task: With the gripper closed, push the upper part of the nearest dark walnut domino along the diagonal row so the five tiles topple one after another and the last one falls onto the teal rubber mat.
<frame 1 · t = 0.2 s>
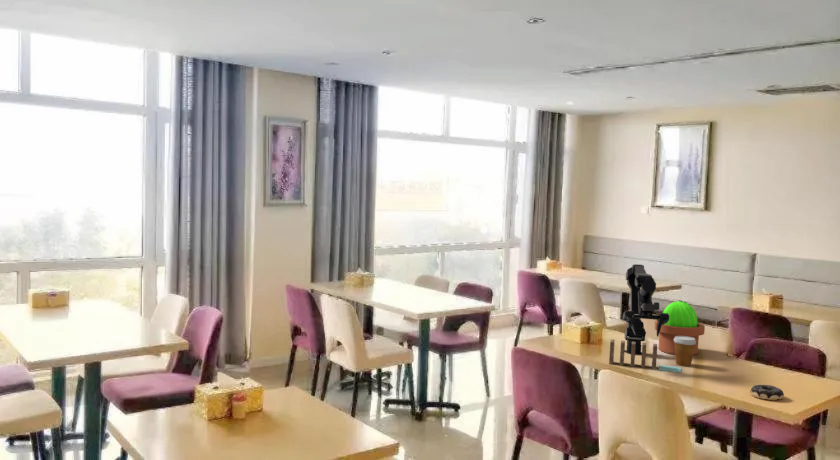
hand: (646, 335, 302), 15 cm above the table, tool tilted 30°, fingers open, 9 cm apart
domino 3: (632, 365, 310), on the table
disposable coffee cup: (683, 364, 314), on the table
domino 1: (611, 363, 313), on the table
donut: (766, 397, 269), on the table
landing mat: (669, 369, 305), on the table
domino 4: (643, 366, 309), on the table
potted cactus: (677, 351, 340), on the table
domino 2: (621, 364, 311), on the table
domino 5: (653, 367, 307), on the table
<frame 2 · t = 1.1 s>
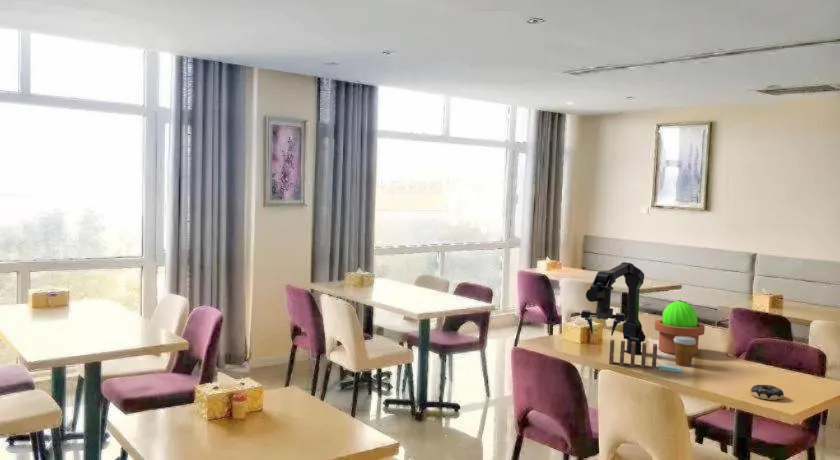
hand: (601, 334, 313), 12 cm above the table, tool pointing down, fingers open, 8 cm apart
nothing on the table moved.
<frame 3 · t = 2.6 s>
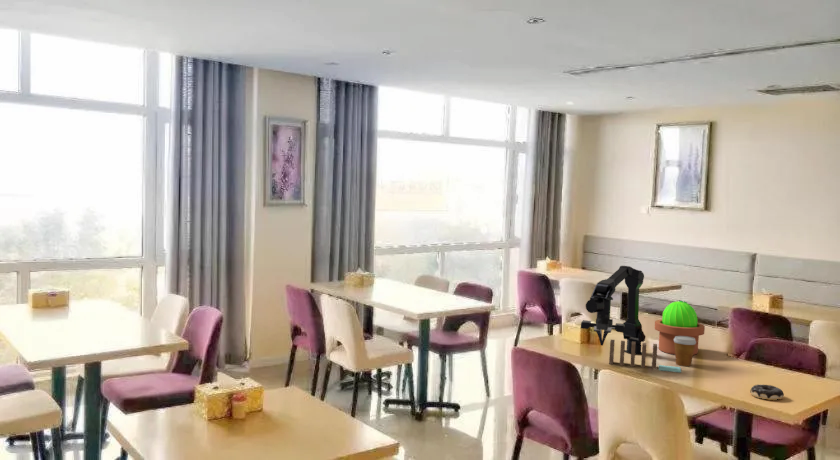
hand: (601, 345, 314), 7 cm above the table, tool pointing down, fingers closed
nothing on the table moved.
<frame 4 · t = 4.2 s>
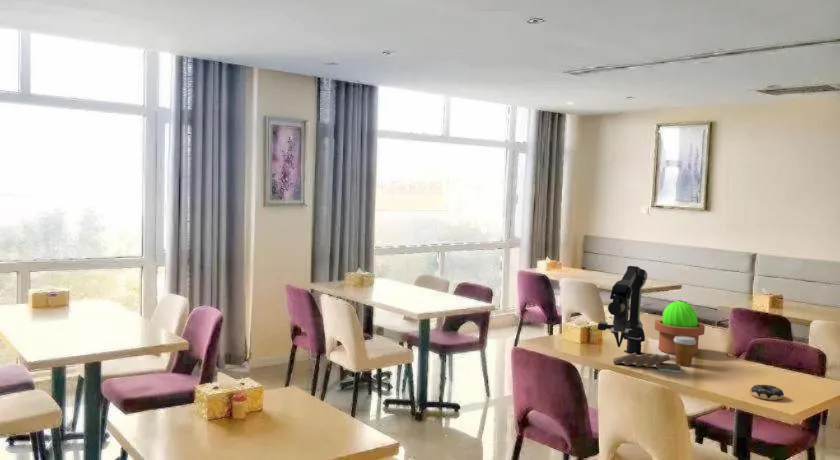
hand: (618, 346, 311), 7 cm above the table, tool pointing down, fingers closed
domino 3: (636, 363, 309), point 1 cm above the table, tilted 64°, touching domino 2, domino 4
domino 1: (614, 361, 312), point 1 cm above the table, tilted 68°, touching domino 2
domino 4: (646, 364, 308), point 1 cm above the table, tilted 64°, touching domino 3, domino 5
domino 2: (624, 362, 311), point 1 cm above the table, tilted 67°, touching domino 1, domino 3
domino 5: (655, 365, 307), point 1 cm above the table, tilted 90°, touching domino 4, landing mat
everything else where it was.
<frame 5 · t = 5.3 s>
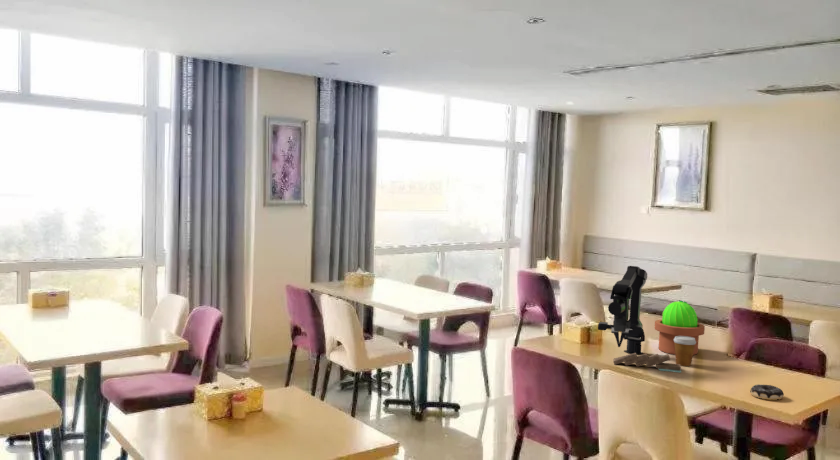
hand: (619, 346, 311), 8 cm above the table, tool pointing down, fingers closed
nothing on the table moved.
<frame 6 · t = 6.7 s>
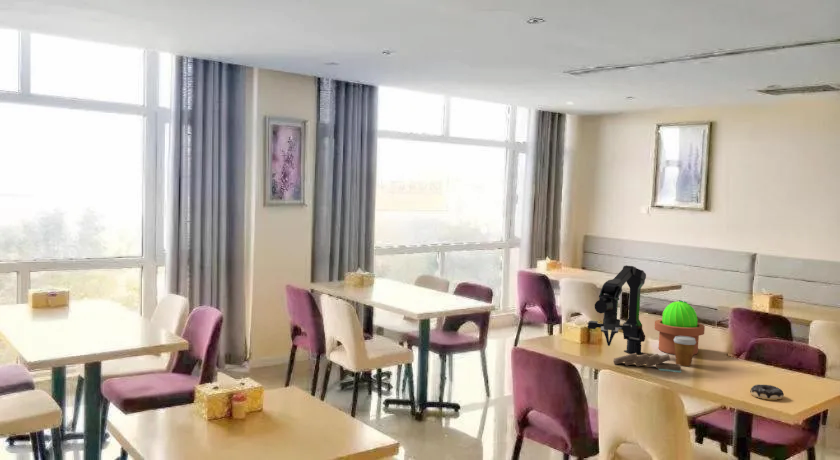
hand: (608, 345, 312), 8 cm above the table, tool pointing down, fingers closed
nothing on the table moved.
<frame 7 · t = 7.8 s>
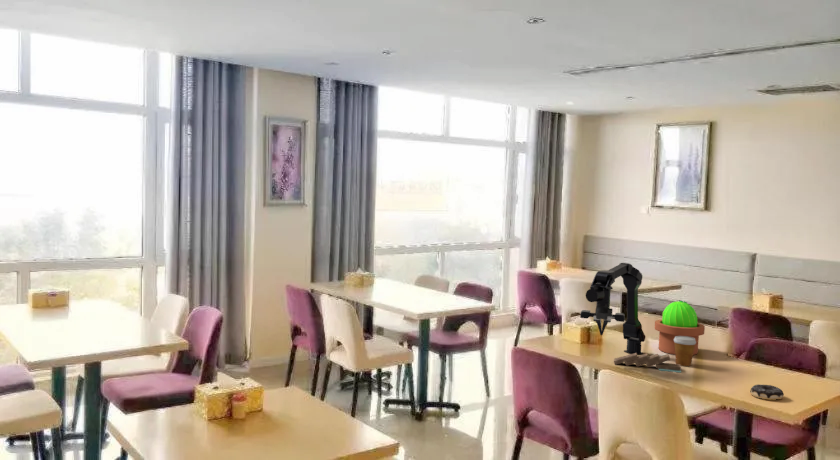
hand: (601, 335, 311), 12 cm above the table, tool pointing down, fingers closed
nothing on the table moved.
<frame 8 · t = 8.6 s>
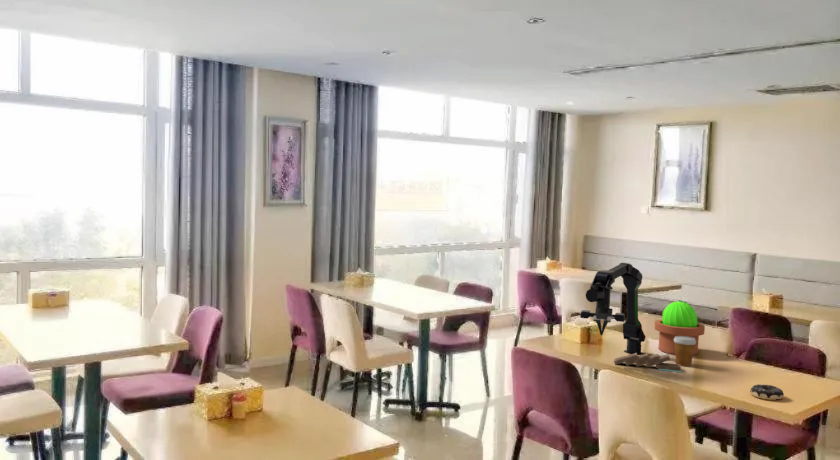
hand: (601, 335, 311), 12 cm above the table, tool pointing down, fingers closed
nothing on the table moved.
at the end: domino 5 tilted 90°; domino 1 tilted 68°; domino 5 5.7 cm from the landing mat (horizontally) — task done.
